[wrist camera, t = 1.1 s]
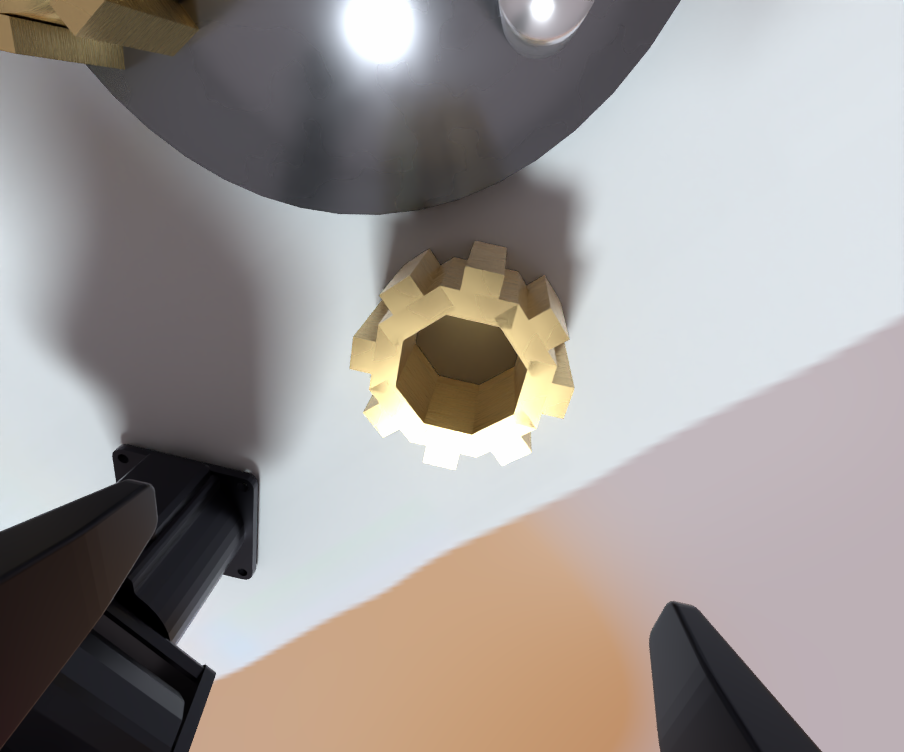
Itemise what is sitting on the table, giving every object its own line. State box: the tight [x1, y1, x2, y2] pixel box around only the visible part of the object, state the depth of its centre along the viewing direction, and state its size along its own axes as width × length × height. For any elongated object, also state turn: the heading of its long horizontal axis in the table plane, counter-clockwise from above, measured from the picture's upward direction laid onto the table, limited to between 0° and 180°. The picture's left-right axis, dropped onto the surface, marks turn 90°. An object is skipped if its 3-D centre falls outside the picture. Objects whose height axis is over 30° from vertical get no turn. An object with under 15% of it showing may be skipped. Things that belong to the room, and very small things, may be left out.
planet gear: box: [350, 241, 574, 470], centre depth 17 cm, size 7×7×4 cm
